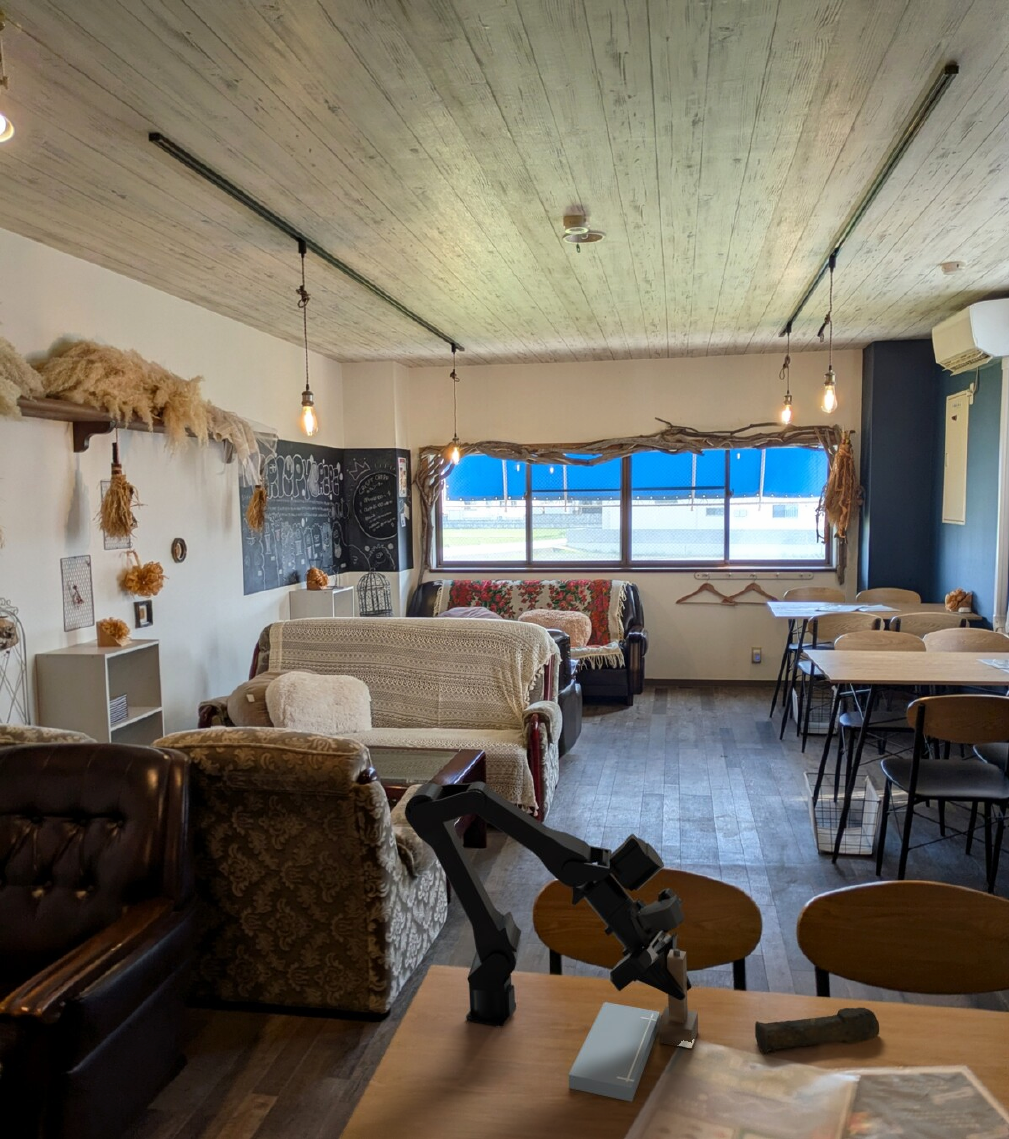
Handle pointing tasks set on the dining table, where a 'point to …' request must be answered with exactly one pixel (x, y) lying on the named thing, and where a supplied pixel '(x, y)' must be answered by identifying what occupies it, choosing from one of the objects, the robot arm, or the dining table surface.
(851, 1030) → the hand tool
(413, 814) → the robot arm
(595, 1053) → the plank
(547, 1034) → the dining table surface
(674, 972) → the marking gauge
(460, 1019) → the dining table surface
